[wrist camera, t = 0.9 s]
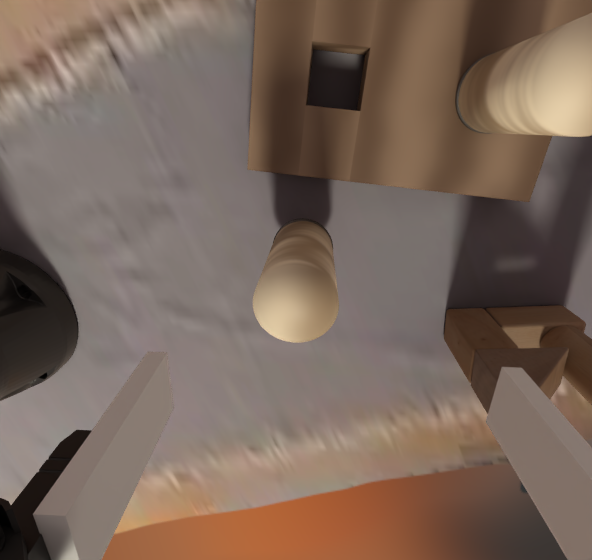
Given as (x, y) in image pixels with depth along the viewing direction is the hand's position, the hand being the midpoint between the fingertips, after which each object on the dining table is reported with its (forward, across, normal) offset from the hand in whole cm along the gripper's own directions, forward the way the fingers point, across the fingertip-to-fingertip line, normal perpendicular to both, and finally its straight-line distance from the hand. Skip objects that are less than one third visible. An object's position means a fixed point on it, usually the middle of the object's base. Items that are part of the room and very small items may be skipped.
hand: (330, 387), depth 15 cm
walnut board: (+21, +6, +12) cm, 25 cm away
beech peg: (+21, -1, 0) cm, 21 cm away
